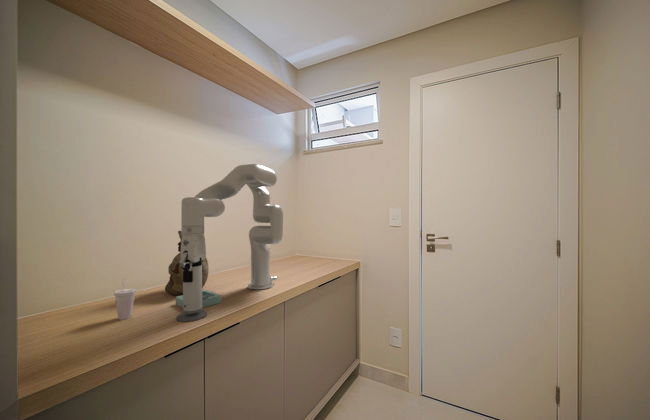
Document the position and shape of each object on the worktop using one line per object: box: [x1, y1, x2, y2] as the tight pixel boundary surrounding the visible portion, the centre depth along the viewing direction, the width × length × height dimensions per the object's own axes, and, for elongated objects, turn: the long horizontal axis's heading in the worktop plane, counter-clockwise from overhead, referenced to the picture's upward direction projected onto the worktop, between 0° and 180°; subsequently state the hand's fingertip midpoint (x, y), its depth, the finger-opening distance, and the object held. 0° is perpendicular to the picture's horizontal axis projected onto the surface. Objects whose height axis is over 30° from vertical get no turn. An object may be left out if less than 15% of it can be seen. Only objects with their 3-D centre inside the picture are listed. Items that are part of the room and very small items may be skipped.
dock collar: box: [175, 289, 222, 308], centre depth 109 cm, size 13×13×4 cm
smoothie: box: [113, 278, 137, 321], centre depth 94 cm, size 6×6×14 cm
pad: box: [176, 309, 208, 323], centre depth 94 cm, size 10×10×1 cm
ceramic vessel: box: [164, 230, 210, 297], centre depth 127 cm, size 19×21×30 cm
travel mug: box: [182, 258, 203, 314], centre depth 94 cm, size 6×7×20 cm
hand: (193, 279), depth 95 cm, fingers closed on travel mug, 6 cm apart
